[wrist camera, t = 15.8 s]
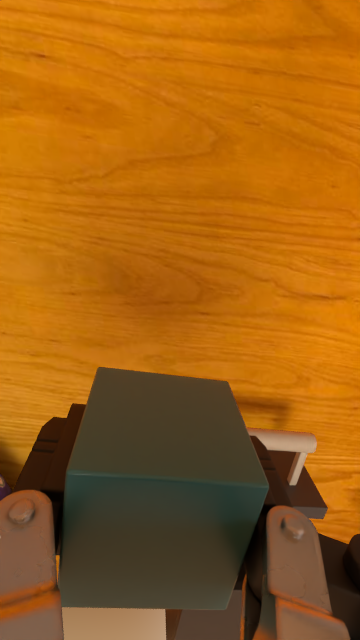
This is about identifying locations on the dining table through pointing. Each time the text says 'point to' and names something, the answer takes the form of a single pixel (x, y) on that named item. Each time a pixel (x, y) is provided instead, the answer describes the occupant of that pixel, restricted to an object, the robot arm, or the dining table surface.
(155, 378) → the block
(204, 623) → the cabinet
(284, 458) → the drawer
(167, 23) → the dining table surface
